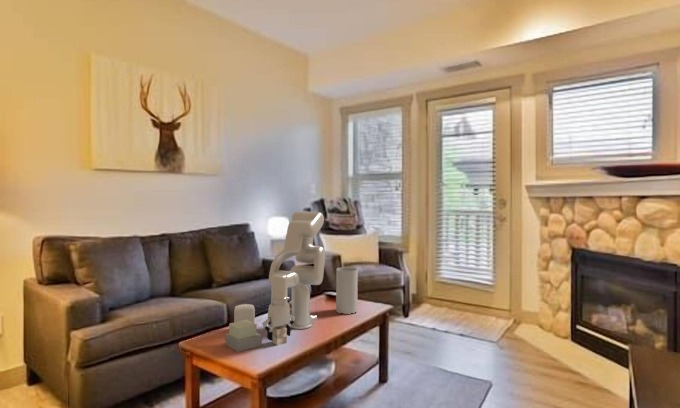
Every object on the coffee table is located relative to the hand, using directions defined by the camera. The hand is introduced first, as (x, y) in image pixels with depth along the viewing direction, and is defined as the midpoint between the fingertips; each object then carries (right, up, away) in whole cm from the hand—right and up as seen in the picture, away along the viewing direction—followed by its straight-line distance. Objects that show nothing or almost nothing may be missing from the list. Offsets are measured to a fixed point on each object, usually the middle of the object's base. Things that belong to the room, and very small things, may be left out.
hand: (279, 337), depth 193 cm
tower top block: (-16, +2, -3) cm, 17 cm away
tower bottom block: (-16, -3, -3) cm, 16 cm away
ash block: (0, -3, 0) cm, 3 cm away
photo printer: (-21, -2, +19) cm, 28 cm away
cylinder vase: (+32, -2, +52) cm, 61 cm away
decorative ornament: (+2, -1, +47) cm, 47 cm away
